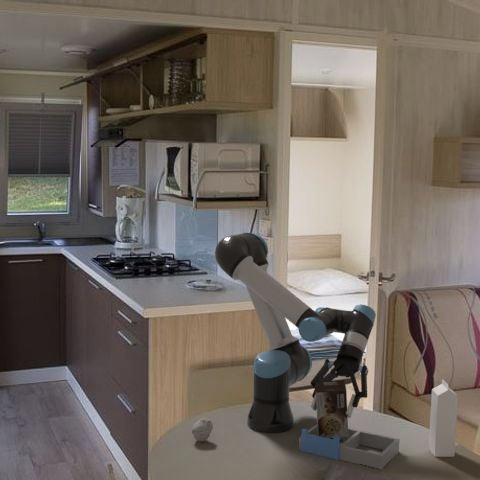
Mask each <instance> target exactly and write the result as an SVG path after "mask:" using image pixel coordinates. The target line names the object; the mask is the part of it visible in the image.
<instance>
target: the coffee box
mask: <svg viewBox="0 0 480 480" xmlns="http://www.w3.org/2000/svg"><path fill="white" fill-rule="evenodd" d="M315 388H316V407H317V409H316V419H317V421H316V424H317V427H318V436H321V437H325V438H329V439H334V436H338V437H348V428H349V421H348V420H349V418H348V416H347V415H346V412H347V408H348V400H347V395H348V394H347V386H346V382H345V379H341V380H335V379H334V380H332V381H317V382H315ZM315 388H314V389H315Z"/></svg>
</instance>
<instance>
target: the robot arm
mask: <svg viewBox="0 0 480 480" xmlns="http://www.w3.org/2000/svg"><path fill="white" fill-rule="evenodd" d="M268 253H269V246H268V244H267V242H266V241H265V239H264V238H263V236H261V235H259V234H258V233H254V232H243V233H237V234H234V235H227V236H225V237H223V238H222V239H220V240H219V241H218V243H217V245H216V248H215V251H214V256H215V257H214V258H215V261H216V262H217V265H218V266H219V268H220V269H221V270H222V271H223V272H225V274H227V275H228V276H229V277H230V278H232V279H233V280H234V281H238V280H239V281H240V282H241V283H242V284H243V285H245V287H246V289H247V292H248V295H249V297H250V300H251V302H252V305H253V307H254V310H255V313H256V315H257V317H258V321H259V322H260V325H261V327H262V330H263V333H264V335H265V338H266V341H267V342H268V345H267V349H266V351H265V350H264V351H262V352H260V353H258V354H257V355H256V356H255V358H254V363H253V364H254V365H253V397H252V398H253V401H252V403H251V406H250V409H249V412H248V415H247V426H248V427H249V428H250V429H252V430H255V431H258V432H263V433H282V432H286V431H289V430H291V429H292V428H293V427H294V424H295V423H294V422H295V420H294V415H293V411H292V408H291V405H290V404H291V403H290V387H292V386H293V385H294V384H297V382H300V381H302V380H304V379H305V378H306V377H307V376H308V375H309V374H310V373H311V370H312V366H313V358H312V355H311V353H310V351H309V350H308V349H307V348H306V347H304V345H301V342H300V339H299V337H296V336H294V335H293V334H292V332H291V331H292V330H291V329H290V326H289V324H288V322H287V320H288V321H289V322H290V323H291V324H293V325H294V326H295V327H296V328H297V329H298V333H299V336H300V337H301V339H303V340H304V341H305V342H309V343H314V342H317V341H320V340H322V339H324V338H325V337H327V336H330V335H332V334H333V333H337V334H338V333H339V334H343V339H342V341H341V345H340V347H339V349H338V353H337V356H336V359H335V360H329V358H326V359H325V360H324V363H323V365H322V367H321V368H320V369H319V370H318V372H317V373H316V374H315V375H314V377H313V379H312V380H311V381H310V386H311V387H312V388H313V389H314V390H313V392H312V394H311V397H312V403H311V405H310V407H311V409H312V410H313V411H314V412H317V407H316V388H315V382H317V381H334V380H335V379H337V378H338V377H345V378H350V381H351V383H352V387H353V391H354V393H352V394H351V397H350V400H349V403H348V404H347V412H346V415H347V417H348V419H351V418H352V415H353V412H354V409H355V408H357V407H358V406H359V402H360V400H361V399H362V398H364V399H367V398H368V381H367V380H368V378H367V376H368V374H369V369H368V366H367V365H366V364H363V365H361V363H362V361H363V360H362V359H363V358H364V353H365V351H366V347H367V345H368V341H369V338H370V336H371V334H372V333H371V332H372V330H373V327H374V325H375V320H376V316H377V314H376V312H375V310H374V309H373V308H372V307H370V306H368V305H366V304H363V303H362V304H357V305H355V306H354V308H353V309H352V310H345V309H340V308H339V309H338V308H331V307H322V306H321V307H316V308H315V310H314V309H312V308H311V307H310V306H309V305H307V304H306V303H305V301H303V300H301V299H300V298H299V297H298V296H296V295H295V294H294V293H293V292H292V291H290V289H288V288H286V287H285V286H284V285H283V284H282V283H280V282H279V281H278V280H276V279H275V278H274V277H273V276H271V274H269V273H268V267H269V266H270V264H269V262H268V259H267V258H268ZM332 367H333V368H332ZM329 371H330V372H329ZM357 372H359V373H360V381H361V386H360V388H359V385H358V382H357V379H356V375H355V374H356V373H357ZM360 389H361V391H360Z"/></svg>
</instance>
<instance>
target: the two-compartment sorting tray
mask: <svg viewBox="0 0 480 480" xmlns="http://www.w3.org/2000/svg"><path fill="white" fill-rule="evenodd" d="M298 438H299V439H298V441H299V442H298V450H299V451H300V452H304V453H309V454H313V455H316V456H320V457H324V458H329V459H332V460H337V461H339V460H341V461H345V462H349V463H353V464H356V465H360V464H363V465H362V466H364V465H367V466H366V467H368V466H371V467H370V468H372V467H374V468H373V469H377V468H378V469H377V470H381V469H382V468H383V467H384V466H385V465H386V464H387V463H388V462H389V461H390V460H391V459H392V460H393V459H394V458H395V456H396V455H398V454H399V453H400V440H401V439H400V438H397V437H396V438H395V437H392V436H386V435H382V434H378V433H373V432H369V431H366V430H365V431H363V430H359V429H355V428H350V427H348V437H338V436H334V438H325V437H321V436H318V427H317V423H316V424H315V425H314V426H312V427H310V428H309V429H308V428H301V435H299V437H298ZM340 441H344V442H343V443H341V442H340ZM340 443H341V444H340ZM360 445H362V446H366V447H370V448H375V449H379V450H383V451H382V452H381V453H376V452H372V451H367V450H363V449H360V448H358V447H359V446H360ZM390 462H391V461H390ZM390 462H389V463H390ZM357 463H358V464H357ZM389 463H388V464H389ZM388 464H387V465H388ZM387 465H386V466H387ZM386 466H385V467H386ZM385 467H384V468H385ZM384 468H383V469H384ZM383 469H382V470H383Z"/></svg>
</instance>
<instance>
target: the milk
mask: <svg viewBox="0 0 480 480" xmlns="http://www.w3.org/2000/svg"><path fill="white" fill-rule="evenodd" d="M458 398H459V395H458V394H457V393H456V392H455V391H454V390H453V389H451V387H449V384H448V383H447V382H446V381H445V380H444V379H441V383H440V384H439V385H437V386H435V387H434V388H432V389H431V398H430V399H431V402H430V417H429V419H430V420H429V422H430V423H429V441H428V450H429V451H430V452H431V454H432V455H433V457H435V458H438V457H439V458H443V457H444V458H446V457H449V458H450V457H451V458H452V457H453V458H454V457H455V455H456V454H455V451H456V437H457V436H456V434H457V416H458V415H457V414H458V402H459V401H458Z"/></svg>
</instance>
